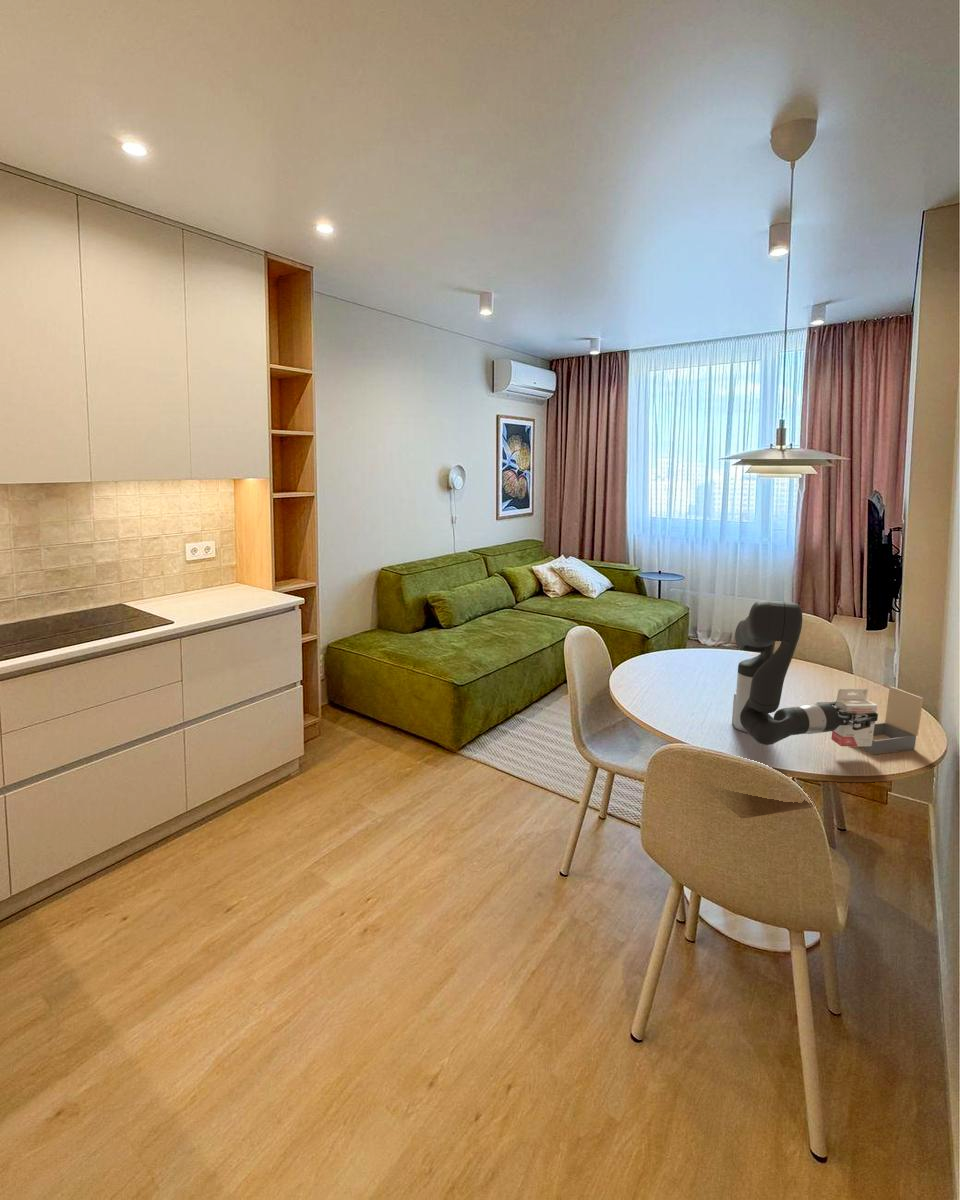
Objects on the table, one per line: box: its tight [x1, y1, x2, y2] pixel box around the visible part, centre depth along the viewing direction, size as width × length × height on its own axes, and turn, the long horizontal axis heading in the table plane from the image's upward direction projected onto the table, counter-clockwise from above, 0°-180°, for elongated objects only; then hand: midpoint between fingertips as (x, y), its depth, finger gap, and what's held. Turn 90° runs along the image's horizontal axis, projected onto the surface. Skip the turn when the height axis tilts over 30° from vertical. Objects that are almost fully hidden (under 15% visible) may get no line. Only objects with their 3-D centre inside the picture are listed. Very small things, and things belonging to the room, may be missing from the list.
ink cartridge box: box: [830, 688, 878, 747], centre depth 168 cm, size 9×5×15 cm, turn 92°
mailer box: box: [855, 686, 924, 756], centre depth 176 cm, size 10×15×15 cm
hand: (866, 712), depth 168 cm, fingers closed on ink cartridge box, 5 cm apart
